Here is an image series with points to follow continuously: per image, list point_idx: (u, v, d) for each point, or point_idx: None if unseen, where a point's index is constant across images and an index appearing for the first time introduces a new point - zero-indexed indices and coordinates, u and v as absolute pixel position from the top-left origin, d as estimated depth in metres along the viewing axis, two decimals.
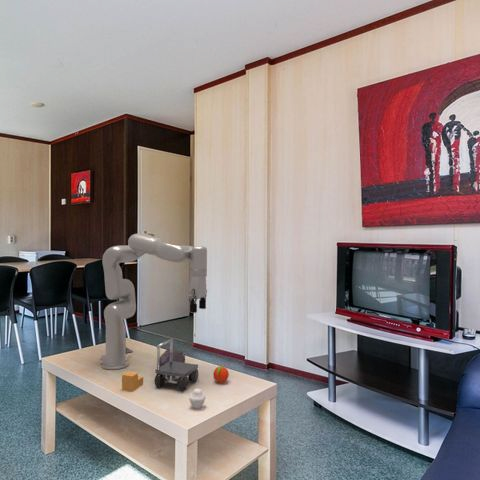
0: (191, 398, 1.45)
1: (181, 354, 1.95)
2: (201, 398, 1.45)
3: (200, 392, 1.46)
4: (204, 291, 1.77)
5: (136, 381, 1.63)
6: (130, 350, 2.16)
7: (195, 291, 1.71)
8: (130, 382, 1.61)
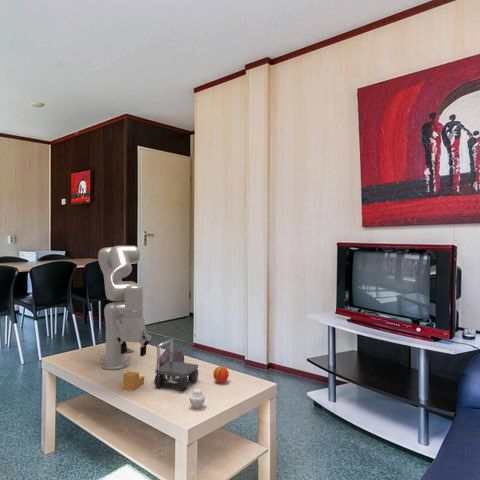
0: (191, 398, 1.45)
1: (180, 354, 1.96)
2: (201, 398, 1.45)
3: (200, 392, 1.46)
4: None
5: (137, 380, 1.64)
6: (131, 350, 2.16)
7: None
8: (131, 381, 1.61)
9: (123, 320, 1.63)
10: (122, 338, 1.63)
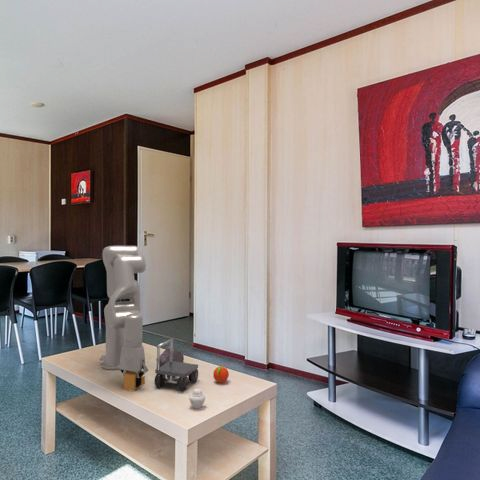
0: (191, 398, 1.45)
1: (180, 353, 1.96)
2: (201, 398, 1.45)
3: (200, 392, 1.46)
4: None
5: None
6: None
7: (144, 361, 1.64)
8: (132, 381, 1.62)
9: (123, 349, 1.64)
10: (121, 367, 1.63)
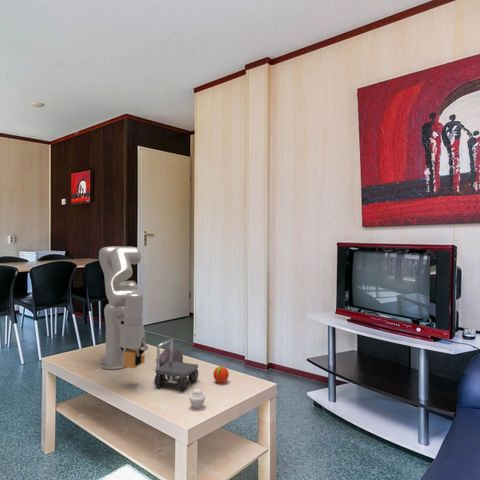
0: (191, 398, 1.45)
1: (179, 353, 1.97)
2: (201, 398, 1.45)
3: (200, 392, 1.46)
4: None
5: None
6: None
7: (144, 340, 1.64)
8: (132, 359, 1.62)
9: (123, 327, 1.64)
10: (121, 345, 1.64)
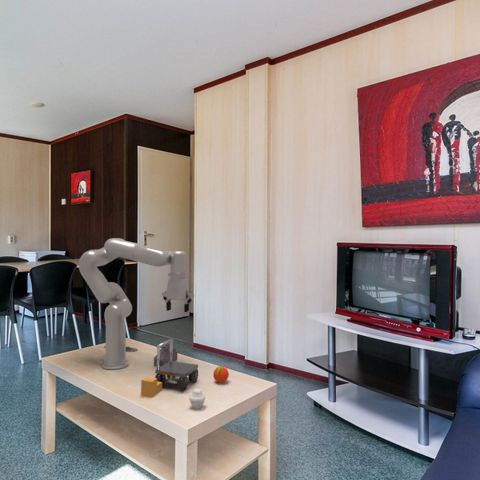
0: (191, 398, 1.45)
1: (174, 351, 2.00)
2: (201, 398, 1.45)
3: (200, 392, 1.46)
4: None
5: (155, 387, 1.58)
6: (134, 348, 2.19)
7: None
8: (149, 388, 1.55)
9: (169, 281, 1.88)
10: (168, 296, 1.88)
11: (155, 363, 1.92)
